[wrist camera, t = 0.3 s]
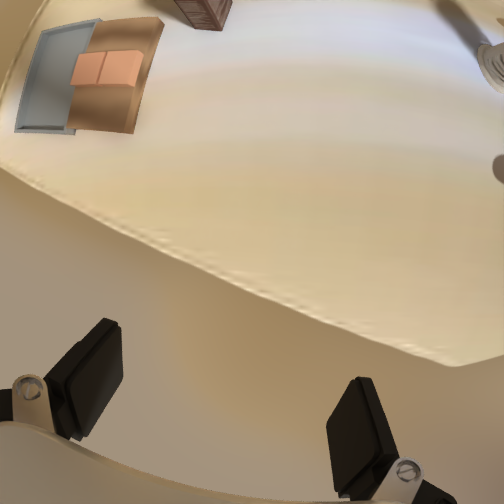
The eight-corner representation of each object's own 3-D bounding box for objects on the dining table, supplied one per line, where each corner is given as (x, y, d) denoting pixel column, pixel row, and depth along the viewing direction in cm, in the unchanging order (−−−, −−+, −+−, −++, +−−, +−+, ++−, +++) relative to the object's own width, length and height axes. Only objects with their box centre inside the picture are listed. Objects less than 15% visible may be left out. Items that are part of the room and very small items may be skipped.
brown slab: (106, 28, 31) (97, 22, 28) (164, 24, 31) (157, 16, 28) (77, 129, 36) (65, 128, 34) (133, 134, 36) (123, 132, 34)
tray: (49, 34, 31) (41, 31, 28) (106, 23, 31) (99, 18, 28) (22, 132, 37) (13, 132, 34) (74, 135, 37) (65, 134, 34)
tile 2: (114, 55, 30) (107, 51, 28) (144, 54, 30) (138, 50, 28) (105, 86, 32) (97, 83, 30) (134, 87, 32) (127, 84, 30)
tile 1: (86, 57, 30) (79, 54, 28) (111, 55, 30) (105, 51, 28) (77, 87, 32) (69, 84, 30) (102, 86, 32) (95, 84, 30)
